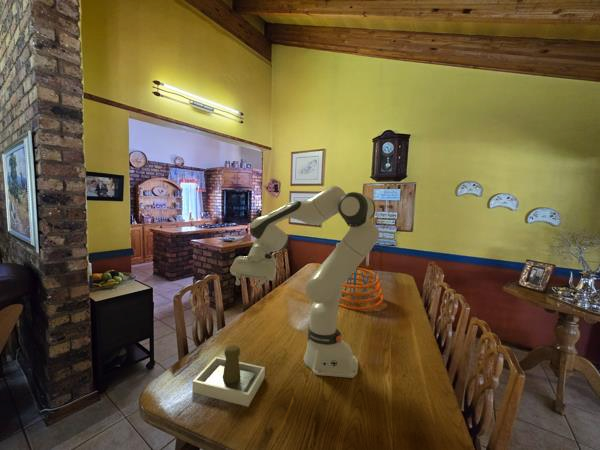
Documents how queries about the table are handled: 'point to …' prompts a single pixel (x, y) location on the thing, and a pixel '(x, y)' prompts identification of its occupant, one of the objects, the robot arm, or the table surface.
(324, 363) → the robot arm
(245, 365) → the tote
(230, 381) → the cork
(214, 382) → the tin box
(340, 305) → the toy basket
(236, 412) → the table surface
